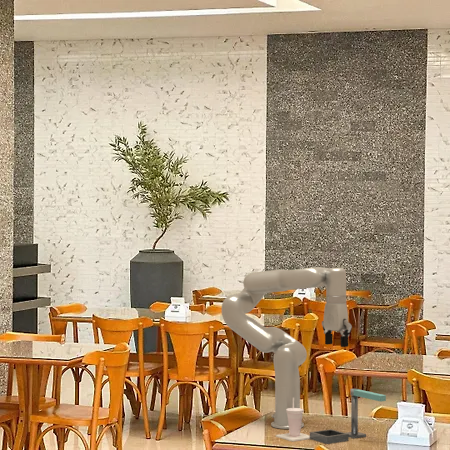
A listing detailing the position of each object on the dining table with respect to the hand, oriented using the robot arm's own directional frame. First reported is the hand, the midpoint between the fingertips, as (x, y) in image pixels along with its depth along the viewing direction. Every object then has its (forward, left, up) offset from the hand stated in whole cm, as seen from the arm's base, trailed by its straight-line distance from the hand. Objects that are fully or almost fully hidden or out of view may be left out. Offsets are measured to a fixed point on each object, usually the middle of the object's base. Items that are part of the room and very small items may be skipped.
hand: (336, 345), depth 381 cm
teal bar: (+19, -1, -17) cm, 25 cm away
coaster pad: (+2, -21, -32) cm, 39 cm away
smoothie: (+2, -21, -32) cm, 38 cm away
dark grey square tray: (+12, -13, -32) cm, 37 cm away
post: (+12, -1, -32) cm, 34 cm away
